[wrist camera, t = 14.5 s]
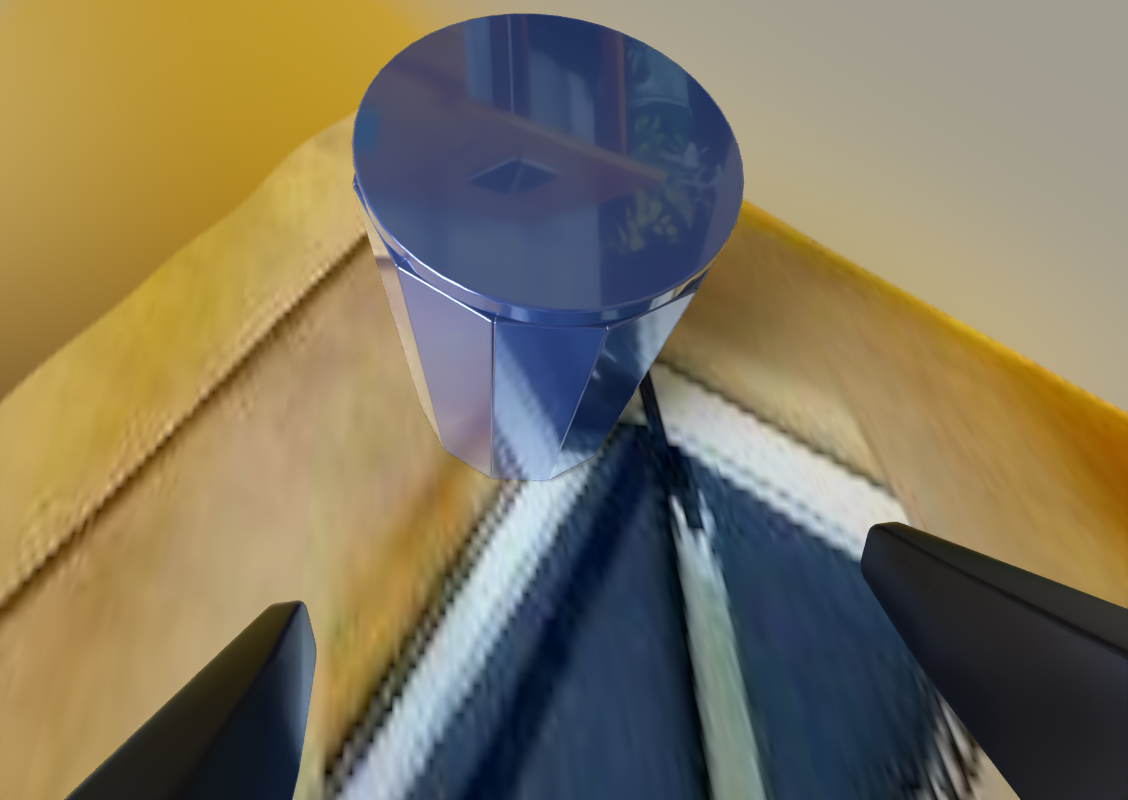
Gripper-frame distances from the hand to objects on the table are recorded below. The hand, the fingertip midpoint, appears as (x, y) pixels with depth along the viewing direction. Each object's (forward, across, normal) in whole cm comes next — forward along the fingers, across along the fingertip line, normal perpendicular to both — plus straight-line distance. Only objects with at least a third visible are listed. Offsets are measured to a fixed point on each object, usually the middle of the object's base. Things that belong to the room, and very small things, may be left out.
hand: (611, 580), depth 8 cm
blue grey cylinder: (+12, 0, +1) cm, 12 cm away
